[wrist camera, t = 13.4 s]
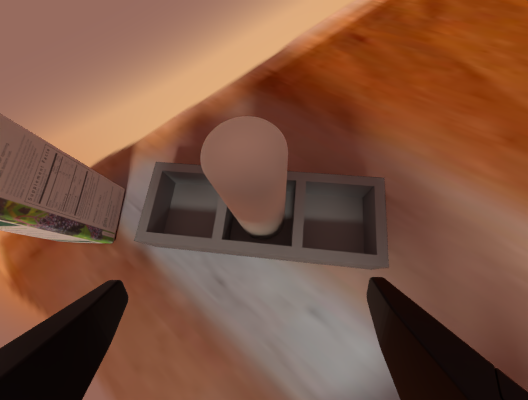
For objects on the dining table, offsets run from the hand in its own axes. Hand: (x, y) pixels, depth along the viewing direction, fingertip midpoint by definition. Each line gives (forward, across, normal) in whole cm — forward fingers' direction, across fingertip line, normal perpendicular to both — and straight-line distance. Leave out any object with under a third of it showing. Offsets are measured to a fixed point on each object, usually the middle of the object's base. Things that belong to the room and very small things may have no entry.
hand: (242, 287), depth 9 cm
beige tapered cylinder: (+13, 0, +5) cm, 14 cm away
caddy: (+13, 0, +5) cm, 14 cm away
